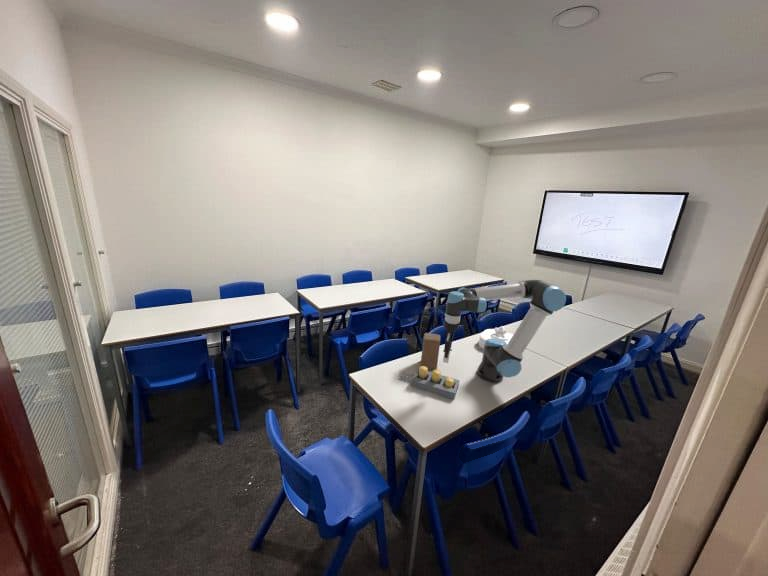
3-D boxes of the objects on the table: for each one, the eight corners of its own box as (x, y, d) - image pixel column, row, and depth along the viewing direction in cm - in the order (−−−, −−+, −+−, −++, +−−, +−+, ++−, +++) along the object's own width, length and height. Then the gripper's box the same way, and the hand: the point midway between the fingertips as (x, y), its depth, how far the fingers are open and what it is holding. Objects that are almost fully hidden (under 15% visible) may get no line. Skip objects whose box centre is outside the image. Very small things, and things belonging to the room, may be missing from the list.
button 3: (427, 375, 169) (428, 367, 168) (425, 379, 165) (426, 371, 164) (420, 372, 171) (420, 365, 170) (417, 376, 167) (418, 369, 165)
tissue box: (486, 335, 235) (490, 316, 230) (520, 346, 221) (524, 326, 216) (475, 346, 215) (478, 326, 211) (510, 359, 201) (515, 337, 197)
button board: (458, 386, 168) (459, 380, 167) (454, 399, 156) (455, 393, 155) (417, 374, 177) (418, 368, 176) (410, 386, 165) (411, 380, 164)
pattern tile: (414, 376, 174) (414, 375, 174) (410, 382, 168) (410, 381, 168) (403, 373, 177) (403, 372, 177) (399, 379, 171) (399, 378, 171)
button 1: (453, 386, 165) (454, 378, 163) (451, 391, 160) (453, 383, 159) (445, 384, 166) (446, 376, 165) (443, 388, 162) (444, 380, 161)
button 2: (440, 378, 167) (441, 371, 165) (438, 383, 162) (439, 375, 161) (432, 376, 168) (433, 368, 167) (430, 380, 164) (431, 372, 163)
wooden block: (436, 371, 182) (440, 341, 176) (420, 368, 183) (423, 338, 177) (437, 362, 191) (440, 334, 185) (421, 360, 193) (424, 331, 187)
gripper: (447, 315, 160) (441, 354, 167) (442, 324, 148) (436, 365, 155) (461, 318, 157) (454, 358, 164) (457, 327, 146) (450, 369, 153)
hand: (445, 361), depth 160 cm, fingers closed
